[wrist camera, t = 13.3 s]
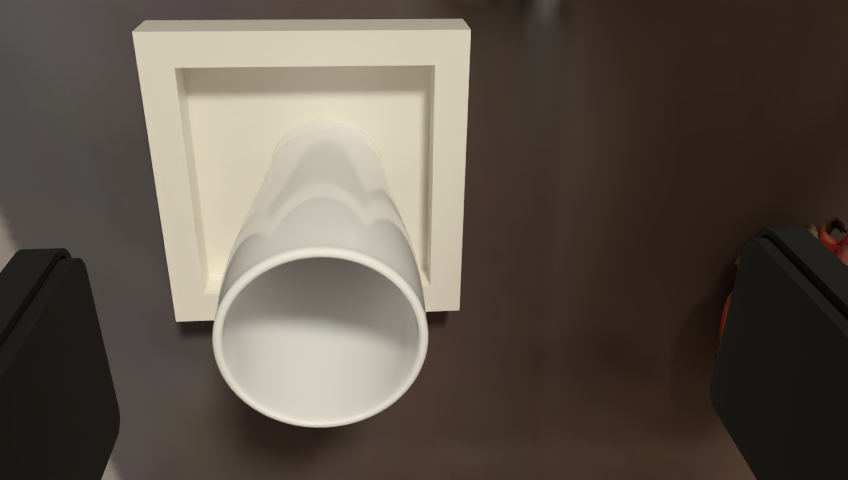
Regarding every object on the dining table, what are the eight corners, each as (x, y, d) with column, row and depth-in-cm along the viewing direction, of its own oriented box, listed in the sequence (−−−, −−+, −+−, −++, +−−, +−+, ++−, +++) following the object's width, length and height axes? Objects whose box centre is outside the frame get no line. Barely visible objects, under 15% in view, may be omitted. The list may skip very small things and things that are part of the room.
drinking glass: (425, 148, 37) (475, 315, 24) (348, 254, 39) (353, 462, 26) (303, 70, 35) (283, 205, 22) (228, 186, 37) (167, 375, 24)
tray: (462, 18, 35) (470, 29, 33) (453, 286, 42) (459, 310, 39) (145, 20, 34) (132, 31, 32) (184, 296, 40) (176, 321, 38)
